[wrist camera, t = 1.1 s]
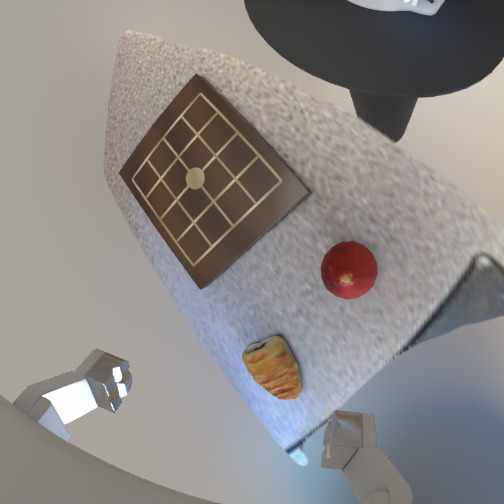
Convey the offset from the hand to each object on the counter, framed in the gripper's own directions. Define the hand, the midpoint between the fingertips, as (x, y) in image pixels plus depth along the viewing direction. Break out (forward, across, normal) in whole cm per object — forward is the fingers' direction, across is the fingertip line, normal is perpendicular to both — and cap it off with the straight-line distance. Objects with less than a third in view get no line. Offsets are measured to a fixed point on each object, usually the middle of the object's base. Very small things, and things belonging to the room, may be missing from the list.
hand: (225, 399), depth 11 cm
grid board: (+31, +12, -1) cm, 33 cm away
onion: (+25, -8, +5) cm, 27 cm away
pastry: (+24, -2, +20) cm, 31 cm away
